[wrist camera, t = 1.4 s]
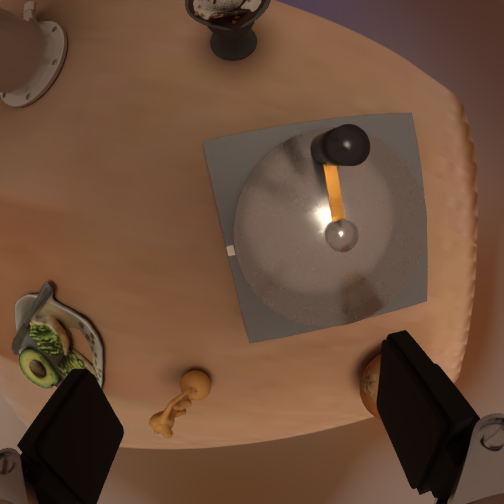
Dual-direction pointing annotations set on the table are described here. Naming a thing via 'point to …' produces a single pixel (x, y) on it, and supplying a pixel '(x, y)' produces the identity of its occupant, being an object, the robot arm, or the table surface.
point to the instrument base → (238, 171)
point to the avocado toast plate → (52, 340)
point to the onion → (371, 386)
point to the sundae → (229, 24)
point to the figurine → (181, 402)
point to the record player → (330, 226)
